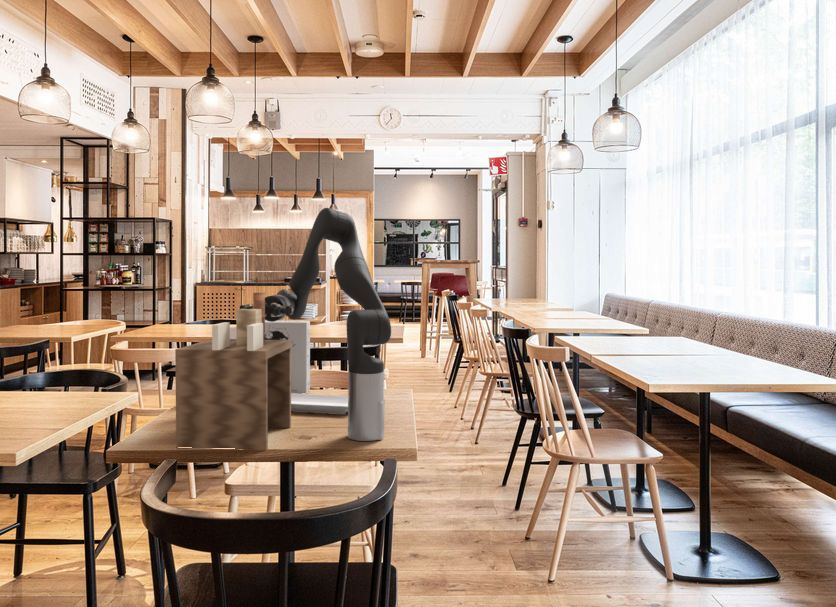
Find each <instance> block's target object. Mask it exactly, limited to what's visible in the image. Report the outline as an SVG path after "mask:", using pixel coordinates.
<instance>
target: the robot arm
mask: <svg viewBox="0 0 836 607" xmlns="http://www.w3.org/2000/svg"><path fill="white" fill-rule="evenodd" d="M323 240H327V241H331V242H333V243H337V244H338V245H339V246H340V248H341V252H340V253H339V254H338V256H337V258H336V260H335V262H334V268H333V269H334V273H335V277H336V281H337V283H338V285H339V287H340V289H341V290H342V291H343V293H344V294H346V296H348V297H349V298H350V299H351V300H353V301H355V303H357V304H358V305H359V306H360V307H362V309H353V310H351V311H349V313H348V315H347V319H346V342H347V345H346V346H347V347H346V348H347V366H348V367H347V368H348V371H347V374H348V375H347V385H348V386H347V396H348V412H347V438H348V439H350V440H353V441H360V442H371V441H381V440H383V438H384V436H385V408H386V407H385V405H386V404H385V398H384V390H385V389H384V386H385V378H384V377H385V366H384V365H385V364H384V363H385V362H384V361H383V360H382V359H380V358H377V357H374V356H372V355H369V354H368V353H366V352H365V350H364V346H378V345H384V344H387V343H388V342H389V341H390V339H391V337H392V324H391V320H390V317H389V315H388V312H387V310H386V308H385V306H384V304H383V303H382V300H381V298H380V296H379V294H378V292H377V290H376V287H375V285H374V282H373V279H372V275H371V272H370V269H369V267H368V263H367V261H366V259H365V257H364V253H363V251H362V248H361V244H360V240H359V236H358V231H357V226H356V223H355V219H354V218H353V216H352V215H350V214H348V213H346V212H343V211H339V210H337V209H335V208H330V207H324V208H322V209H321V210H320V211H319V212H318V214H317V215H316V218H315V220H314V223H313V224H312V227H311V231H310V234H309V235H308V239H307V242H306V245H305V247H304V250H303V252H302V256H301V259H300V261H299V262H298V266H297V267H296V269H295V271H294V273H293V274H292V276H291V278H290V280H289V282H288V286H289V288H290V289H291V290H288V289H280V290H279V291H278V292H277V293H276V294H273V295H268V296H265V320H267V321H270V322H274V321H282V320H283V319H285V318H287V317H288V318H289V319H290V320H292V321H297V320H298V319H299V320H300V319H301V318H302V316H304V314H305V312H306V309H307V305H308V299H309V295H310V292H311V291H312V288H313V286H314V284H316V281H317V279H318V278H319V275H320V267H321V266H320V265H321V264H320V257H319V256H320V255H319V248H320V245H321V243H322V241H323ZM291 291H292V292H291ZM239 309H253V303H252V304H249V303H247V304H240V305H239Z"/></svg>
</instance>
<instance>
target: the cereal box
mask: <svg viewBox="0 0 836 607" xmlns="http://www.w3.org/2000/svg"><path fill="white" fill-rule="evenodd" d="M265 340H291V393H297V394H302V393H306V392H308V393H309V392H310V389H311V361H310V360H311V321H310V320H278V321H274V322H270V321H267V320H265Z"/></svg>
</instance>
